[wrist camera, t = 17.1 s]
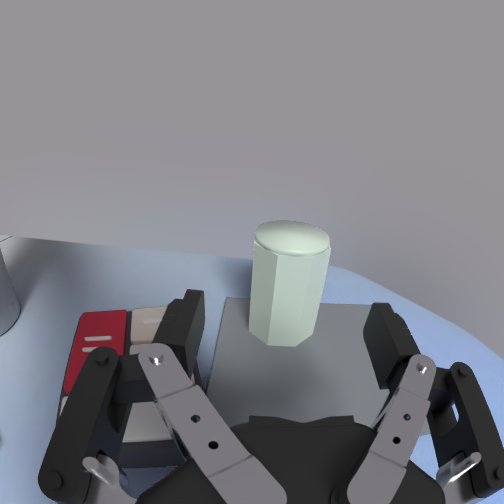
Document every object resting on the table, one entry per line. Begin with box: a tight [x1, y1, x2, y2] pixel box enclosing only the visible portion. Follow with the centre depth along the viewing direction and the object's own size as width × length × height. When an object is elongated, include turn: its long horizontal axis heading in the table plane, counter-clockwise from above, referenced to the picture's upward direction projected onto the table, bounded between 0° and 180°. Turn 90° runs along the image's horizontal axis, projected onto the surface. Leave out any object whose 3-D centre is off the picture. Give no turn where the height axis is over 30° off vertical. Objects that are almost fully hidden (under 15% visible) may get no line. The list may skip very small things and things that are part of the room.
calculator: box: [56, 306, 204, 468], centre depth 20 cm, size 11×4×15 cm
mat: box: [206, 297, 431, 436], centre depth 25 cm, size 20×18×1 cm
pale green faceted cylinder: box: [249, 220, 331, 347], centre depth 27 cm, size 6×6×10 cm
